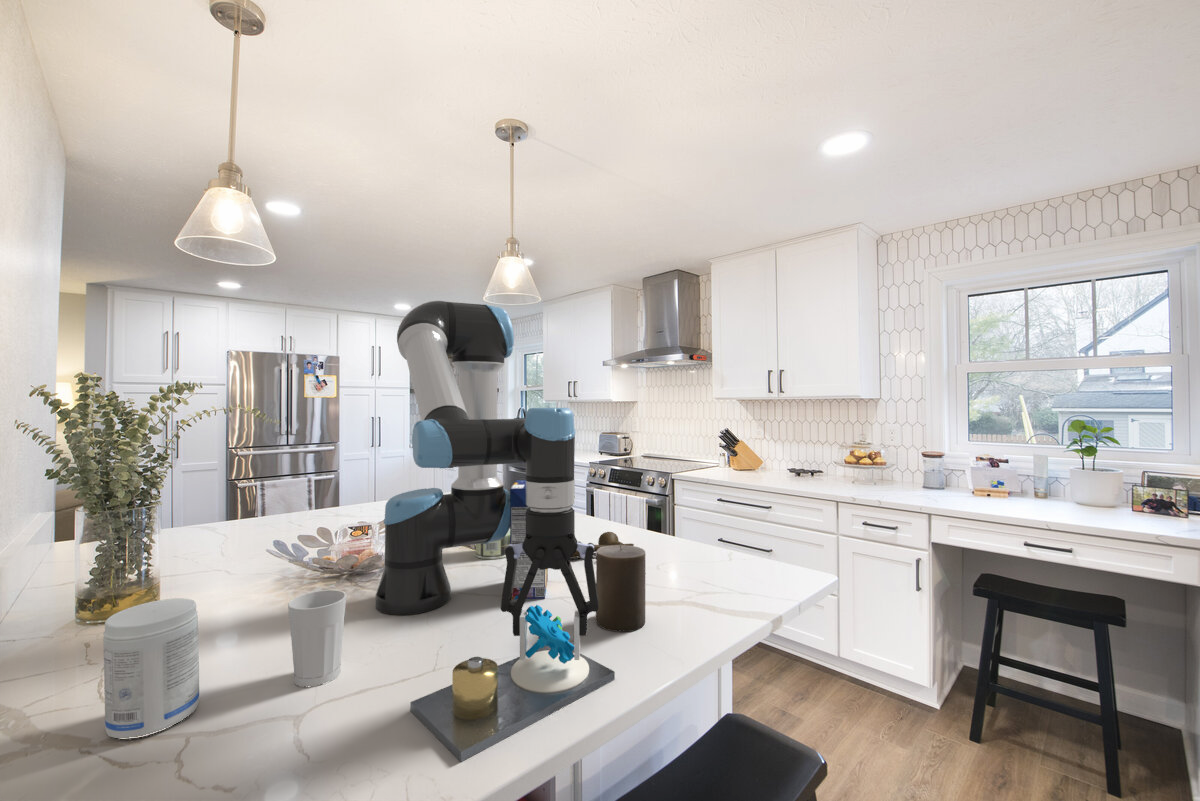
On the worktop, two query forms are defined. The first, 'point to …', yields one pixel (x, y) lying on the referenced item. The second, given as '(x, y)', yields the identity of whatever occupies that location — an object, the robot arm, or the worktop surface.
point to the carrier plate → (506, 712)
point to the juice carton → (518, 536)
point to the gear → (549, 634)
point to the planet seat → (548, 673)
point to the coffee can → (493, 548)
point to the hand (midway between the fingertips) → (550, 655)
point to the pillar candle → (620, 587)
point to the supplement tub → (150, 667)
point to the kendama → (604, 542)
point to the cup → (317, 635)
